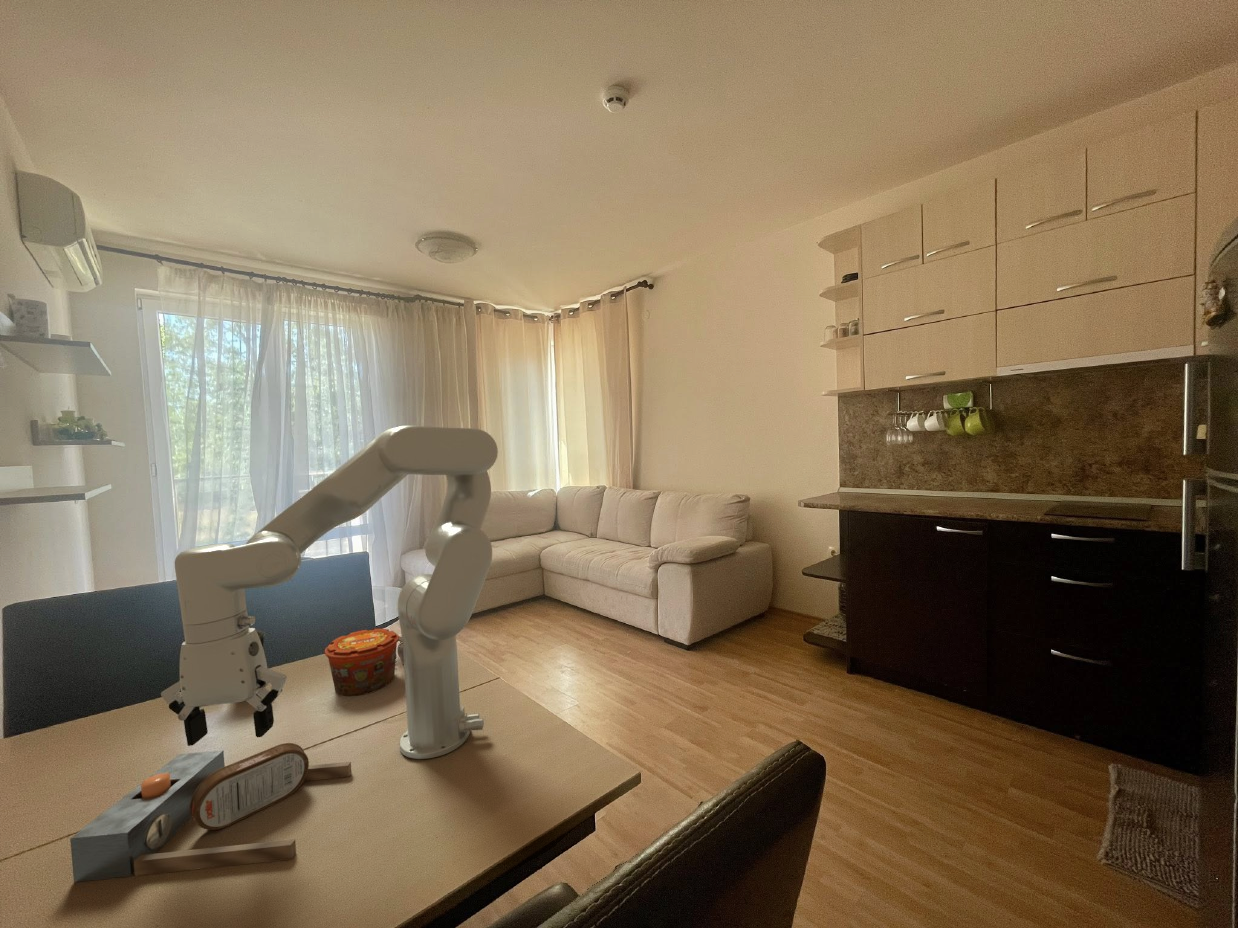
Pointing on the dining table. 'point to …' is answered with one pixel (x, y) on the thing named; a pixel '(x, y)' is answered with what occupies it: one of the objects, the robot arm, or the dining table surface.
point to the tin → (248, 786)
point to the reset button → (155, 785)
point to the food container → (362, 661)
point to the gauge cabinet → (140, 821)
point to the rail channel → (236, 852)
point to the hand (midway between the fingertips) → (231, 735)
